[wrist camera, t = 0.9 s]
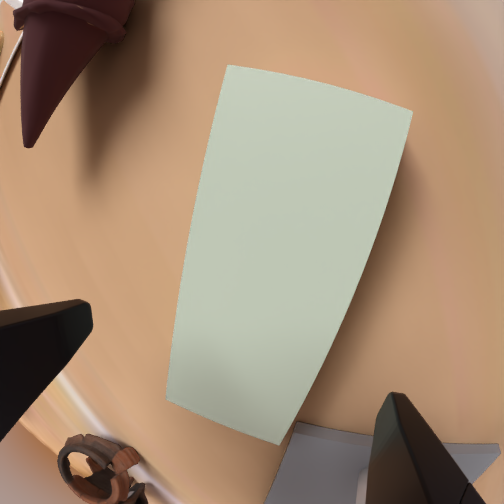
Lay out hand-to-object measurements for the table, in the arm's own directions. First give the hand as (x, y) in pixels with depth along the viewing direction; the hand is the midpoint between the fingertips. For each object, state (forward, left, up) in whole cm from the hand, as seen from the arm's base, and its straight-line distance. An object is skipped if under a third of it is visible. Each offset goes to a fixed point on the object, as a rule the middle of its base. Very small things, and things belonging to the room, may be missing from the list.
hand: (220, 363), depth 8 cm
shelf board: (0, 0, -8) cm, 8 cm away
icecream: (+12, -12, -8) cm, 19 cm away
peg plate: (-11, +19, -8) cm, 23 cm away
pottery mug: (+12, +26, -8) cm, 30 cm away
